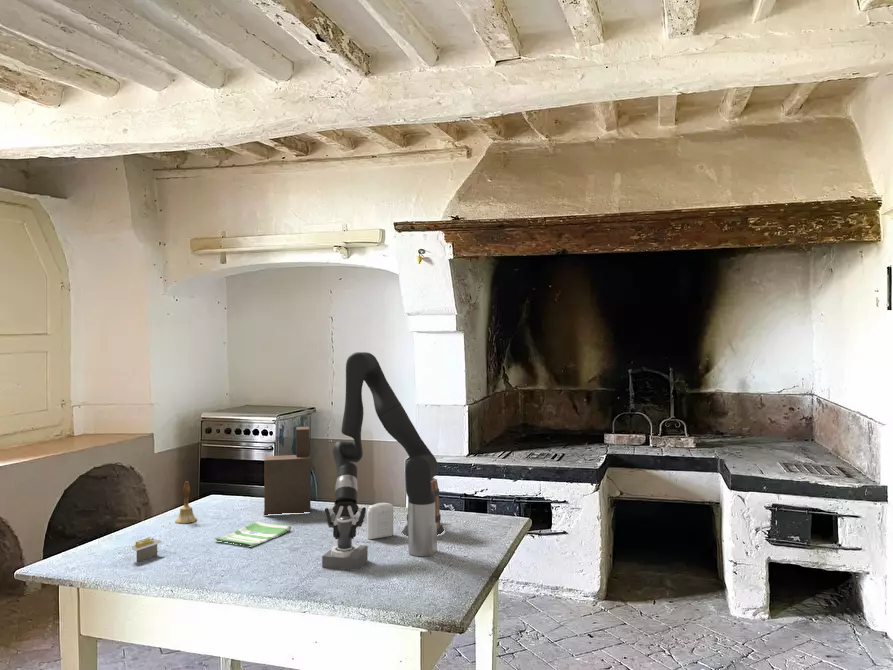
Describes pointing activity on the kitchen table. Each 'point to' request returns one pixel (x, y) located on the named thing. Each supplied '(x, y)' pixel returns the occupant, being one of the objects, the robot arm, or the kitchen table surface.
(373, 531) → the photo printer
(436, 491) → the tankard
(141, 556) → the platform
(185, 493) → the hand bell
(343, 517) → the lens
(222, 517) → the kitchen table surface
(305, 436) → the brown box with post
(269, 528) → the dish towel
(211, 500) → the kitchen table surface
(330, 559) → the camera body
